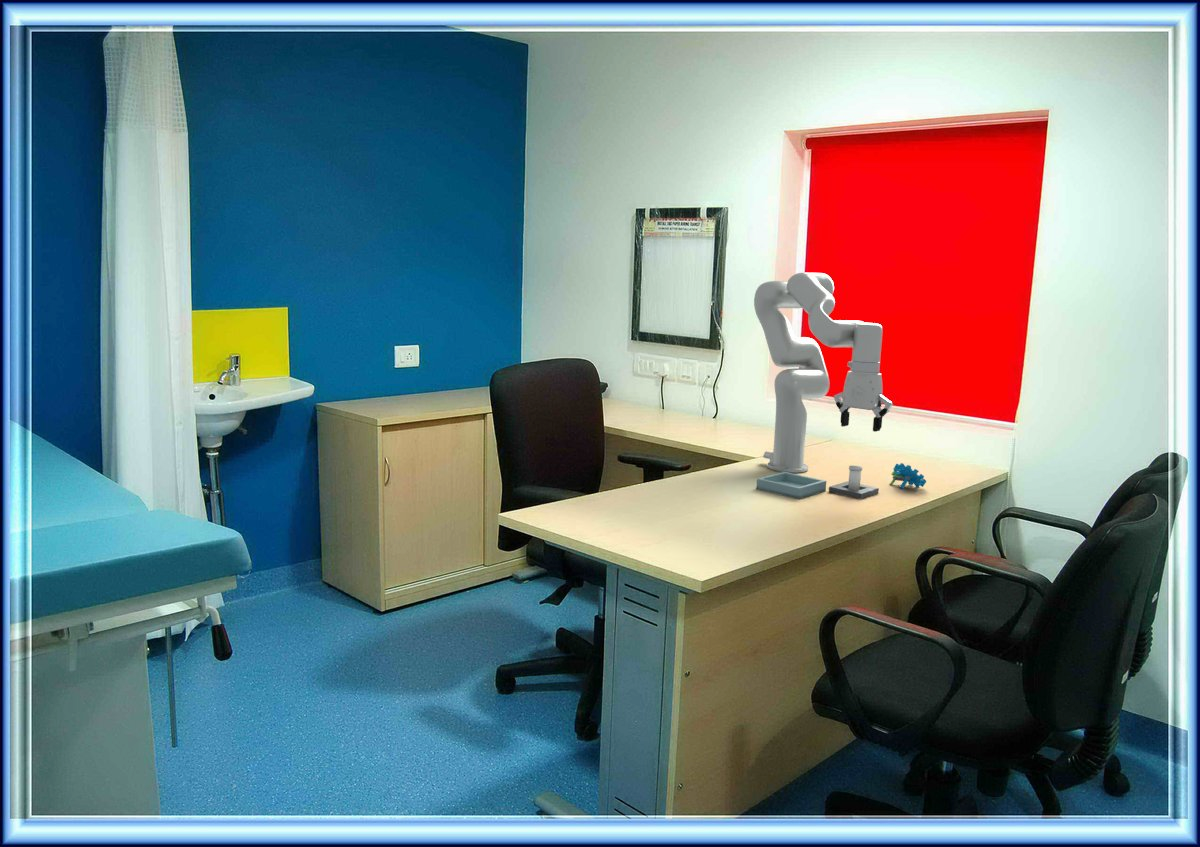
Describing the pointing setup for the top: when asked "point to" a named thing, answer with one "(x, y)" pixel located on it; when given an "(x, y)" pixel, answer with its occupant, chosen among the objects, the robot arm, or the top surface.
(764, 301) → the robot arm
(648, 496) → the top surface
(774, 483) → the parts tray
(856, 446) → the top surface
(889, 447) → the top surface
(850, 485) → the cylinder
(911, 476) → the blue lumpy figure
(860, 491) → the frame
